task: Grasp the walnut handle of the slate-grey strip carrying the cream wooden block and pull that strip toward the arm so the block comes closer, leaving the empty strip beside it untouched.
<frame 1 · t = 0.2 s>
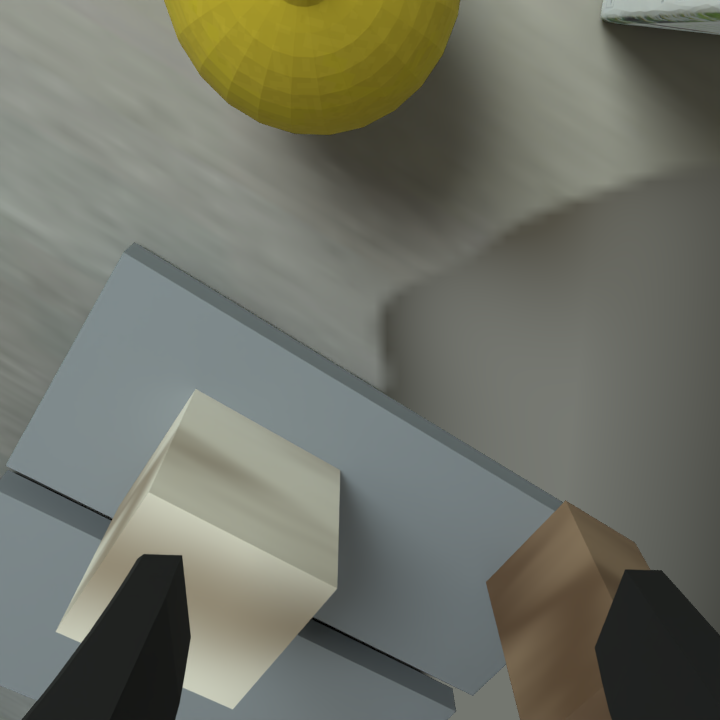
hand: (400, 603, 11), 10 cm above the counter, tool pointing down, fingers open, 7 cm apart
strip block: (329, 560, 19), point 4 cm above the counter, slide at 0.0 cm, touching block
block: (228, 488, 21), point 1 cm above the counter, touching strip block
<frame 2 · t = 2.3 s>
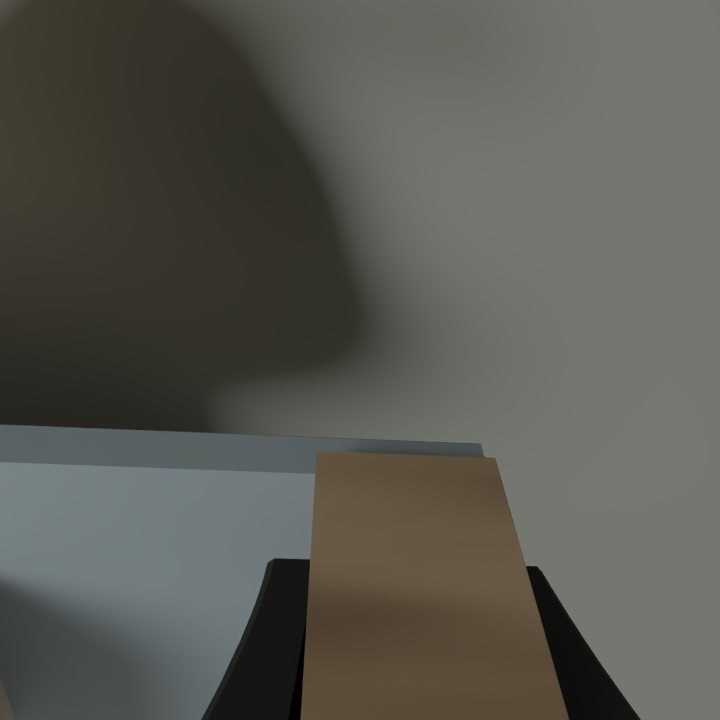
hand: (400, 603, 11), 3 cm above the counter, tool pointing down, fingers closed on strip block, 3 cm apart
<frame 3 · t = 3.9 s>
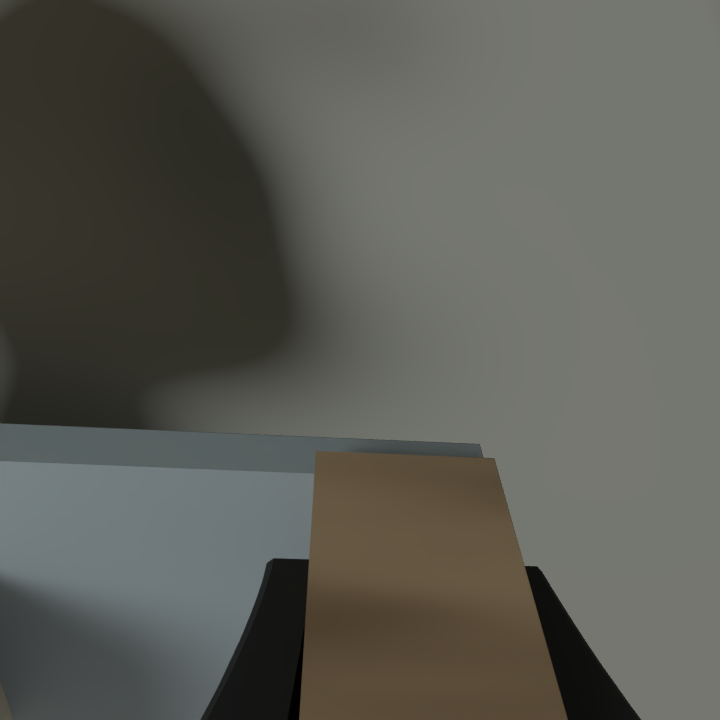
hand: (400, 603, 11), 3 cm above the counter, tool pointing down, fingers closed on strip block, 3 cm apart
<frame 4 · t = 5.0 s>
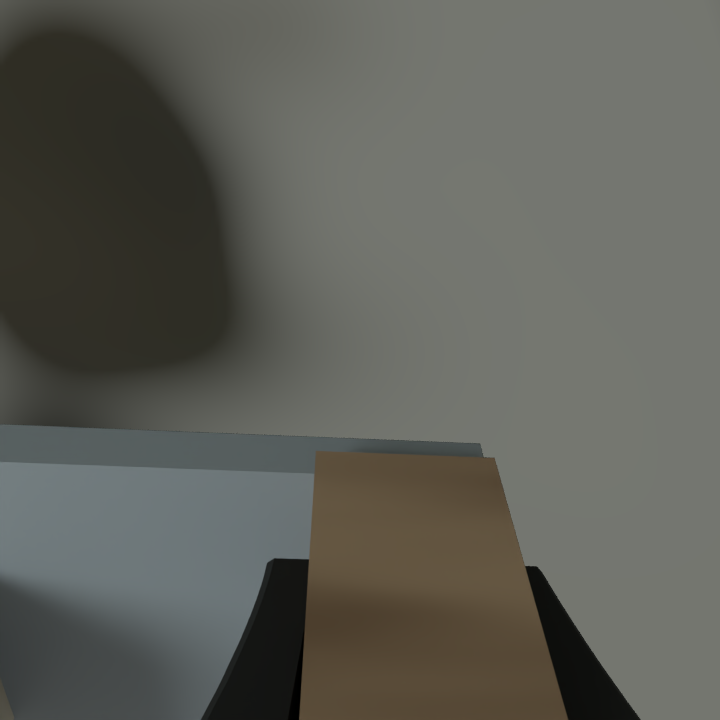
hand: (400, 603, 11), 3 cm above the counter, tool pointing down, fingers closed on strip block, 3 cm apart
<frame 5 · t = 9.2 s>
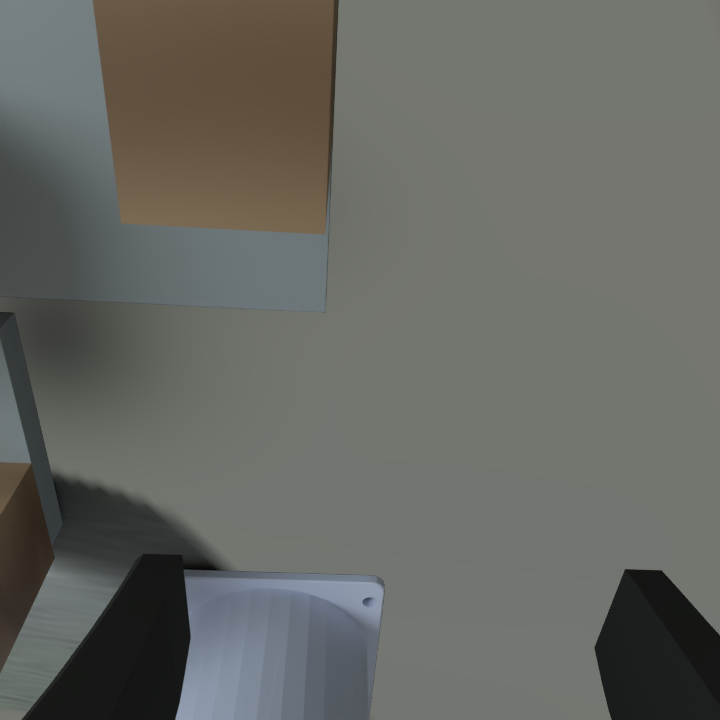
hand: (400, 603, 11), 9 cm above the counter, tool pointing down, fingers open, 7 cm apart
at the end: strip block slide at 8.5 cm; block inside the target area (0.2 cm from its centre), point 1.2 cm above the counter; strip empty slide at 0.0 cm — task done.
